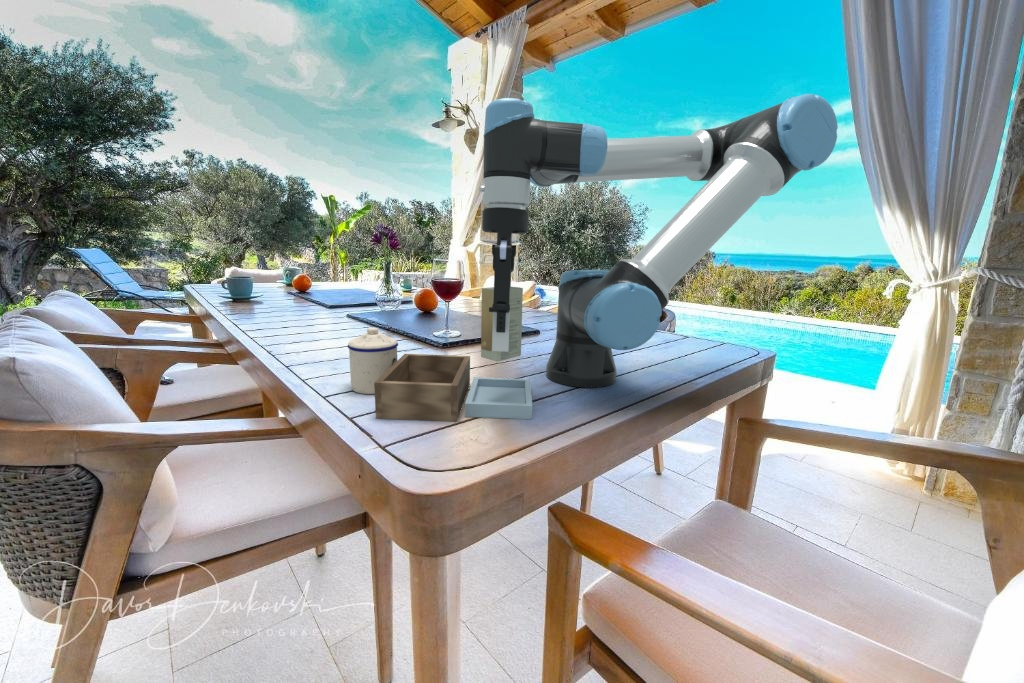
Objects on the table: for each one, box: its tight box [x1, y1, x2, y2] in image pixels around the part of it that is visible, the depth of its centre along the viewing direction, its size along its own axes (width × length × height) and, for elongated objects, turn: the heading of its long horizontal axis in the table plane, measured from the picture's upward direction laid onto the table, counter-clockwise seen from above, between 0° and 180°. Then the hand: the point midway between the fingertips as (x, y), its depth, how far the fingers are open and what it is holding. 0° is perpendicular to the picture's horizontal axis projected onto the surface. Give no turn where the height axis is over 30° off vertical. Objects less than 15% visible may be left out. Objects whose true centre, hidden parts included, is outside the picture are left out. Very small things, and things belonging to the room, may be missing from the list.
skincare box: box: [480, 286, 524, 363], centre depth 72 cm, size 6×4×12 cm
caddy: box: [374, 353, 471, 422], centre depth 74 cm, size 13×18×6 cm
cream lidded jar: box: [347, 327, 399, 395], centre depth 80 cm, size 12×9×12 cm
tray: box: [464, 376, 533, 420], centre depth 75 cm, size 11×14×2 cm
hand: (501, 345), depth 72 cm, fingers closed on skincare box, 7 cm apart
